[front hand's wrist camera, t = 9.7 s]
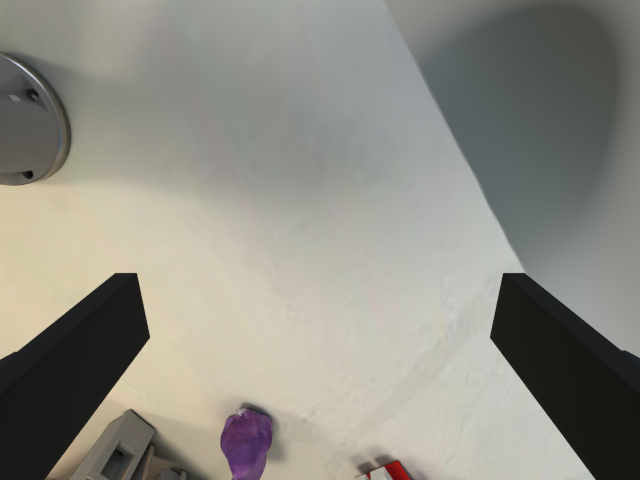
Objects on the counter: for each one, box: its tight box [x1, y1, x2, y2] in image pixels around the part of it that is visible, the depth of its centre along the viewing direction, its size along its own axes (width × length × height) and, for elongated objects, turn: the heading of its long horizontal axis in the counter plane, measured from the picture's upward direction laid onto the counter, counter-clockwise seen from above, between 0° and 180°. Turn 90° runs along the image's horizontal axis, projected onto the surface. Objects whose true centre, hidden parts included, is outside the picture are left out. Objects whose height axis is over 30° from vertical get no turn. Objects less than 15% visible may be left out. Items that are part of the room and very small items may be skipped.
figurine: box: [220, 408, 273, 480], centre depth 53 cm, size 9×10×15 cm
